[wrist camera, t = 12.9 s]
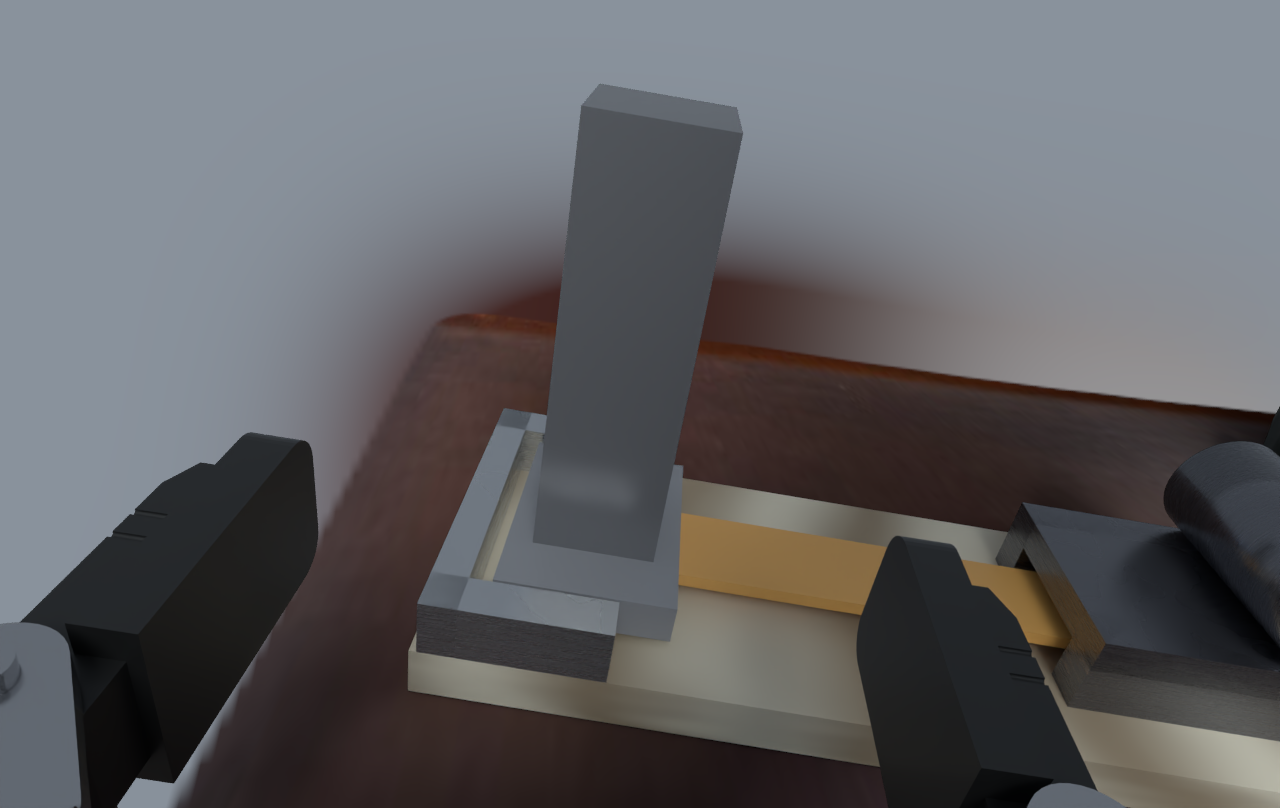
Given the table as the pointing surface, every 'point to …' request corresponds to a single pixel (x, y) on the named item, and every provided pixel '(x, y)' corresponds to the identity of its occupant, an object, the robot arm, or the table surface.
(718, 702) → the rail board
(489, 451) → the bracket
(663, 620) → the strap handle
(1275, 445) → the dark green rounded bar
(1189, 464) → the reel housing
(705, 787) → the table surface
